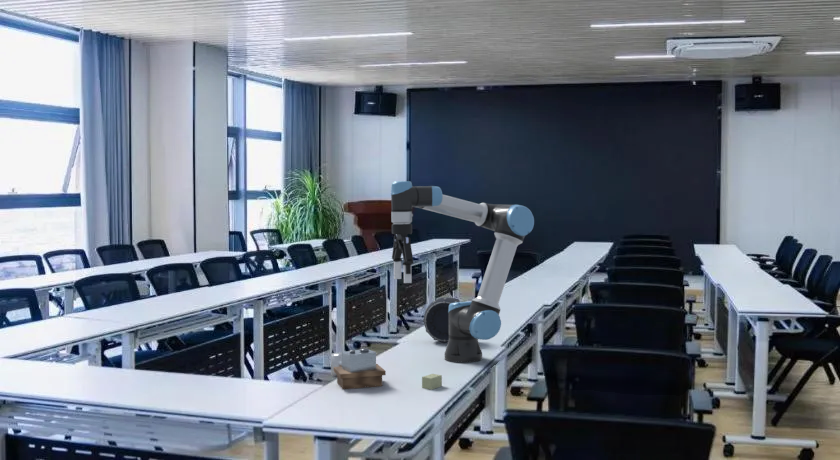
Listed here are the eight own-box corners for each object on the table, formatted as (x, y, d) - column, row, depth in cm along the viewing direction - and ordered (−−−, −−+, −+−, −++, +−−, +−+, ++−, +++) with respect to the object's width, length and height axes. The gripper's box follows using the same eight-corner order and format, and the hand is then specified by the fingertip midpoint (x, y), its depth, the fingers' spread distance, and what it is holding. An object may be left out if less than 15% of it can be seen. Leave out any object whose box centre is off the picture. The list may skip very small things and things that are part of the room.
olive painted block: (432, 384, 294) (432, 373, 294) (441, 386, 292) (441, 375, 292) (422, 388, 289) (422, 376, 289) (431, 390, 287) (431, 378, 287)
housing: (350, 372, 289) (350, 353, 289) (341, 368, 296) (341, 349, 295) (376, 369, 295) (375, 349, 294) (367, 365, 301) (366, 346, 300)
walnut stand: (377, 378, 303) (377, 363, 303) (385, 386, 292) (385, 370, 292) (333, 382, 299) (333, 367, 299) (340, 390, 287) (340, 374, 287)
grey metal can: (345, 373, 313) (345, 352, 313) (349, 376, 308) (348, 355, 307) (329, 374, 312) (329, 353, 311) (332, 378, 306) (332, 356, 305)
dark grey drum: (467, 345, 365) (466, 299, 364) (422, 343, 369) (421, 298, 368) (470, 340, 375) (470, 296, 374) (426, 339, 379) (426, 295, 378)
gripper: (421, 224, 296) (422, 284, 298) (402, 221, 320) (403, 276, 322) (401, 225, 294) (401, 285, 295) (383, 222, 318) (384, 277, 319)
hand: (402, 281), depth 309 cm, fingers open, 13 cm apart
